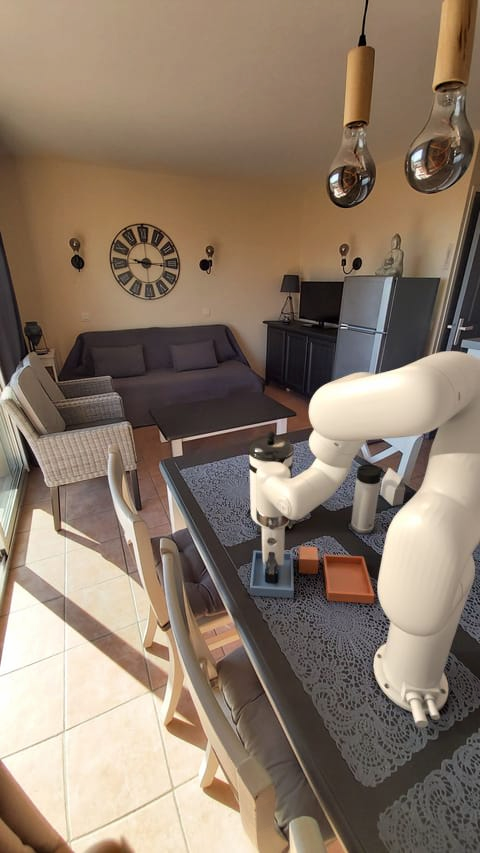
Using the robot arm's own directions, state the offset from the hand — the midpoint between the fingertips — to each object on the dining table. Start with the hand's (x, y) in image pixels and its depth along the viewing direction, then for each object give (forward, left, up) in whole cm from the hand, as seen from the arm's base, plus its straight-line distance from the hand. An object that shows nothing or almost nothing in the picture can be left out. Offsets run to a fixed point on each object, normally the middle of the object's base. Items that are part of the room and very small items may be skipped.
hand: (271, 573), depth 90 cm
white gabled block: (+36, -38, -1) cm, 52 cm away
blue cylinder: (0, 0, 0) cm, 0 cm away
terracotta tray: (0, -18, -1) cm, 18 cm away
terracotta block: (+4, -9, -1) cm, 10 cm away
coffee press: (+23, +2, -1) cm, 23 cm away
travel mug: (+21, -26, -1) cm, 33 cm away
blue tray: (0, 0, -1) cm, 1 cm away
